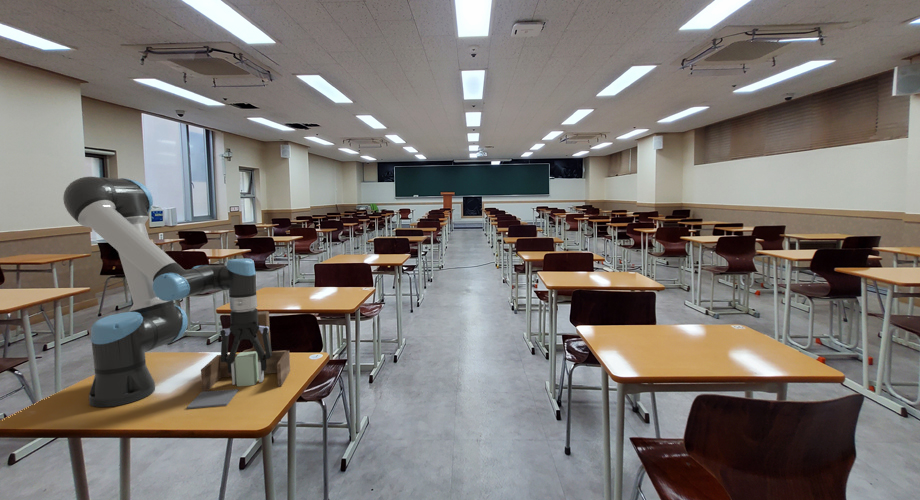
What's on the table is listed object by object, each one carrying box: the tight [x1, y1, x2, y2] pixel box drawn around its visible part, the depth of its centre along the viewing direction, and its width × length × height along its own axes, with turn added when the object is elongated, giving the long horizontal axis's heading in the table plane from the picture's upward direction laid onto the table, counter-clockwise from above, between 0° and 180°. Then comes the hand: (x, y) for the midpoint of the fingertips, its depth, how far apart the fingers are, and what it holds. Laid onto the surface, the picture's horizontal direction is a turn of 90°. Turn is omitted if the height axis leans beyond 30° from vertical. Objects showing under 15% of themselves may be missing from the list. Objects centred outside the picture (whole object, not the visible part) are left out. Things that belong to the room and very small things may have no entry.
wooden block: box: [242, 310, 271, 352], centre depth 150 cm, size 9×4×18 cm, turn 103°
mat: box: [186, 388, 239, 410], centre depth 123 cm, size 10×10×1 cm
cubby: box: [200, 350, 291, 392], centre depth 135 cm, size 22×13×7 cm, turn 100°
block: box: [235, 351, 259, 387], centre depth 134 cm, size 5×5×9 cm
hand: (248, 381), depth 134 cm, fingers open, 7 cm apart
